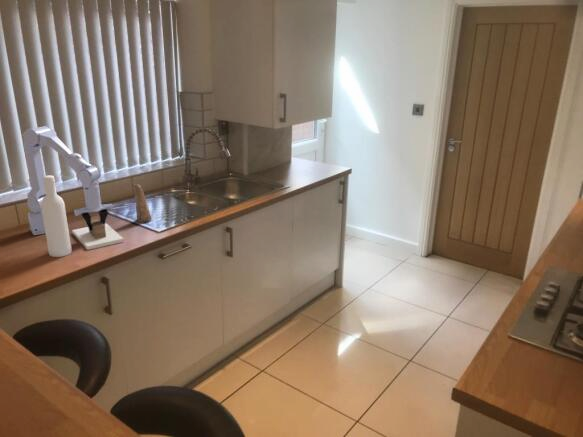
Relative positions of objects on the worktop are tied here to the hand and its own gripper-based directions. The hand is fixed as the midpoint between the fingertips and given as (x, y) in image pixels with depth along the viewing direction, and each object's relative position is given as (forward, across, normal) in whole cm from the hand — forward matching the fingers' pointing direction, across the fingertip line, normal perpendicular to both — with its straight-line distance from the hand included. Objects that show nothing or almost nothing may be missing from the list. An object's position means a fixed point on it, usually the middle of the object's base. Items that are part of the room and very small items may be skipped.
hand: (96, 228), depth 192 cm
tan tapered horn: (+4, +23, +8) cm, 25 cm away
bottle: (+4, -16, -8) cm, 18 cm away
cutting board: (+4, 0, 0) cm, 4 cm away
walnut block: (+2, 0, 0) cm, 2 cm away
